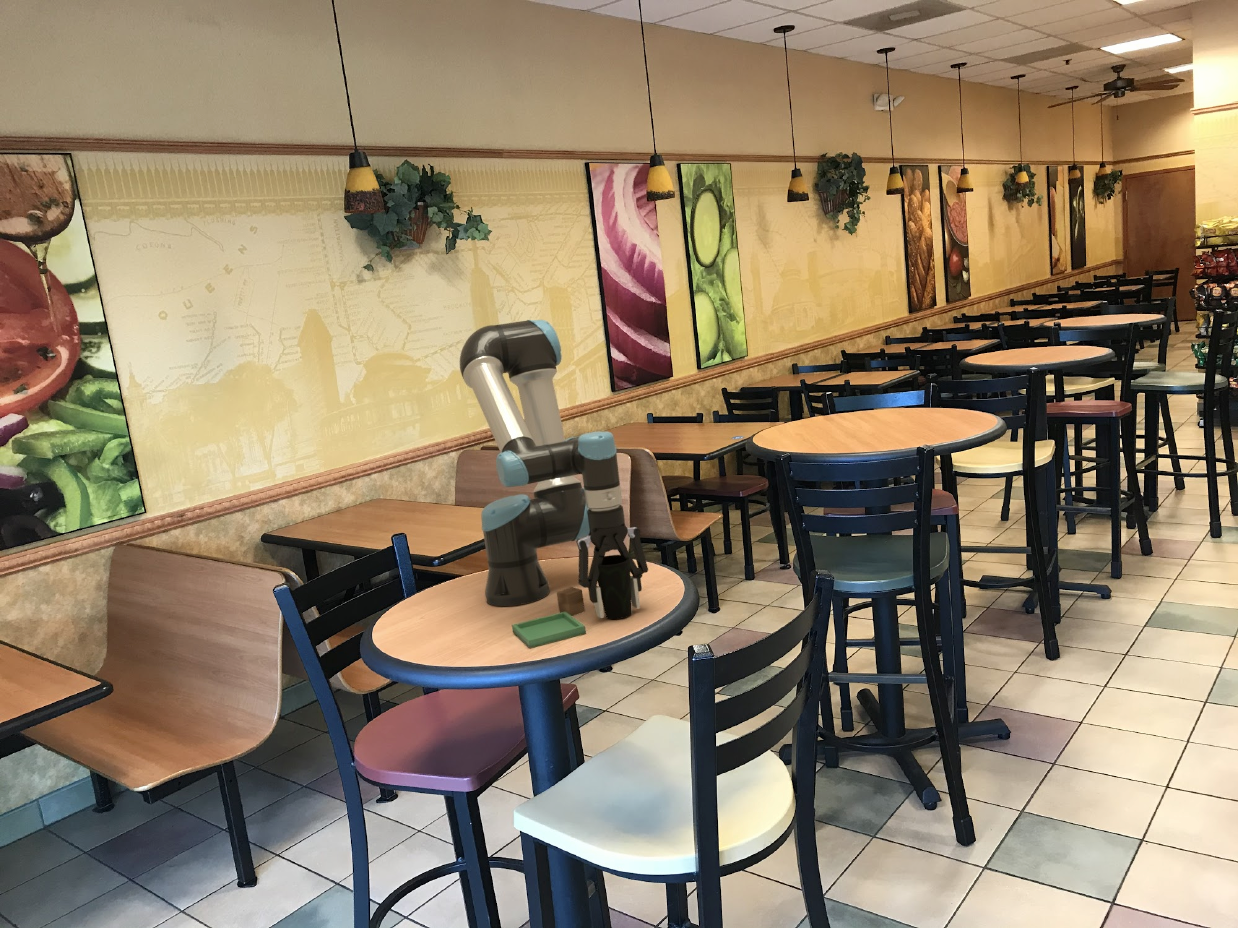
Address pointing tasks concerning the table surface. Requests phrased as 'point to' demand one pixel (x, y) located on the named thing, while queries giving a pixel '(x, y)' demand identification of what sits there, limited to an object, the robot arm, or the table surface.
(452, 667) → the table surface
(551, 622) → the tray
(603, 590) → the cup
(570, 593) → the walnut block
